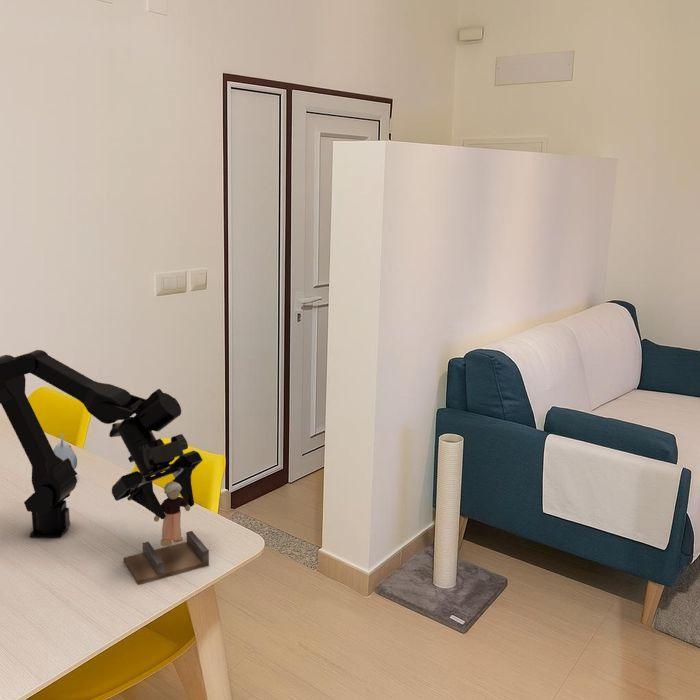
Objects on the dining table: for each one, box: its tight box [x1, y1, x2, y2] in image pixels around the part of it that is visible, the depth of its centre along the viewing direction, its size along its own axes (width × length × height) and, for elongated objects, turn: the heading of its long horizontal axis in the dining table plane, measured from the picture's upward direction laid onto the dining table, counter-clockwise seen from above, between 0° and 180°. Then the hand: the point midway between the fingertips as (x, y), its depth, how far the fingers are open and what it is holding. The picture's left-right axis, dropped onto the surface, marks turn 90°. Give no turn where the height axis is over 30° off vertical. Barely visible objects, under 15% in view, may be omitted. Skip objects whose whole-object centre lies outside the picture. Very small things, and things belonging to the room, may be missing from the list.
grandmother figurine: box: [153, 480, 191, 547], centre depth 143 cm, size 8×4×13 cm, turn 143°
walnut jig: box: [122, 530, 210, 585], centre depth 145 cm, size 14×10×3 cm
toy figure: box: [53, 433, 78, 471], centre depth 178 cm, size 11×6×12 cm, turn 19°
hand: (178, 511), depth 143 cm, fingers closed on grandmother figurine, 7 cm apart
